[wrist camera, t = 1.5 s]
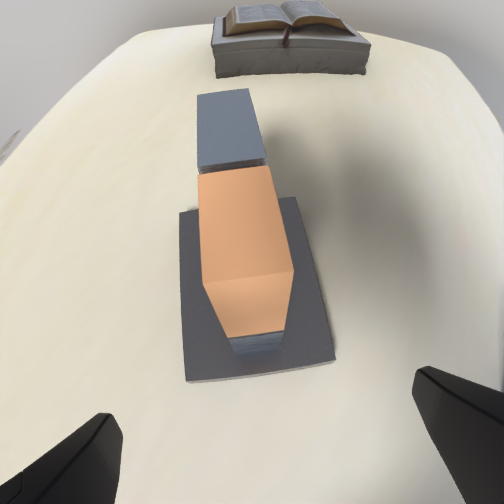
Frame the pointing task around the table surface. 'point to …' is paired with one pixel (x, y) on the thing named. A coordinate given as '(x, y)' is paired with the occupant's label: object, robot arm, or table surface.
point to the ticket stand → (191, 286)
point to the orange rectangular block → (244, 251)
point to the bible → (286, 41)
